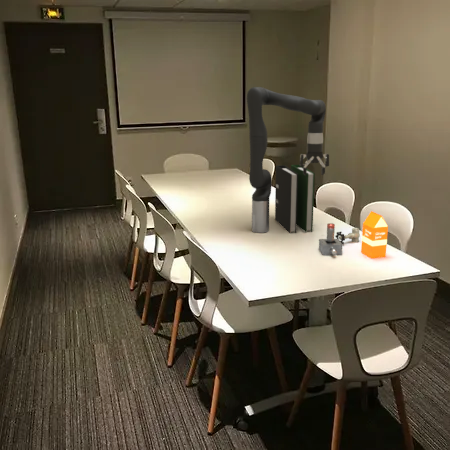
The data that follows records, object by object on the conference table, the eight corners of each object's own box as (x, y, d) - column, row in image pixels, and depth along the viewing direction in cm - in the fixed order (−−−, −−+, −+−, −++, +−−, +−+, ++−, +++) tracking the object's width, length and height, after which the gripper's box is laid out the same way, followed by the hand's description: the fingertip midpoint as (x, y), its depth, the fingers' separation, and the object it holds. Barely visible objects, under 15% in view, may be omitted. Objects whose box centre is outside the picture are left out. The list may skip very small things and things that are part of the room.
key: (327, 251, 229) (328, 225, 225) (325, 248, 232) (326, 223, 229) (334, 250, 229) (335, 225, 225) (332, 248, 232) (333, 223, 229)
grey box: (324, 258, 223) (325, 247, 221) (318, 248, 235) (319, 239, 234) (344, 257, 223) (344, 247, 221) (337, 248, 235) (337, 238, 234)
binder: (313, 231, 261) (316, 173, 252) (287, 233, 259) (288, 174, 250) (298, 218, 287) (299, 164, 278) (273, 219, 285) (274, 165, 276)
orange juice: (371, 258, 221) (374, 216, 216) (360, 252, 229) (363, 211, 224) (386, 256, 223) (389, 215, 218) (375, 250, 232) (378, 210, 226)
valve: (354, 239, 249) (334, 242, 244) (354, 226, 247) (335, 229, 242) (362, 242, 243) (343, 246, 239) (363, 230, 241) (343, 233, 237)
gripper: (327, 140, 241) (326, 173, 245) (299, 141, 240) (298, 173, 245) (331, 142, 233) (329, 176, 238) (301, 143, 233) (300, 176, 238)
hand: (313, 174), depth 242 cm, fingers open, 8 cm apart
